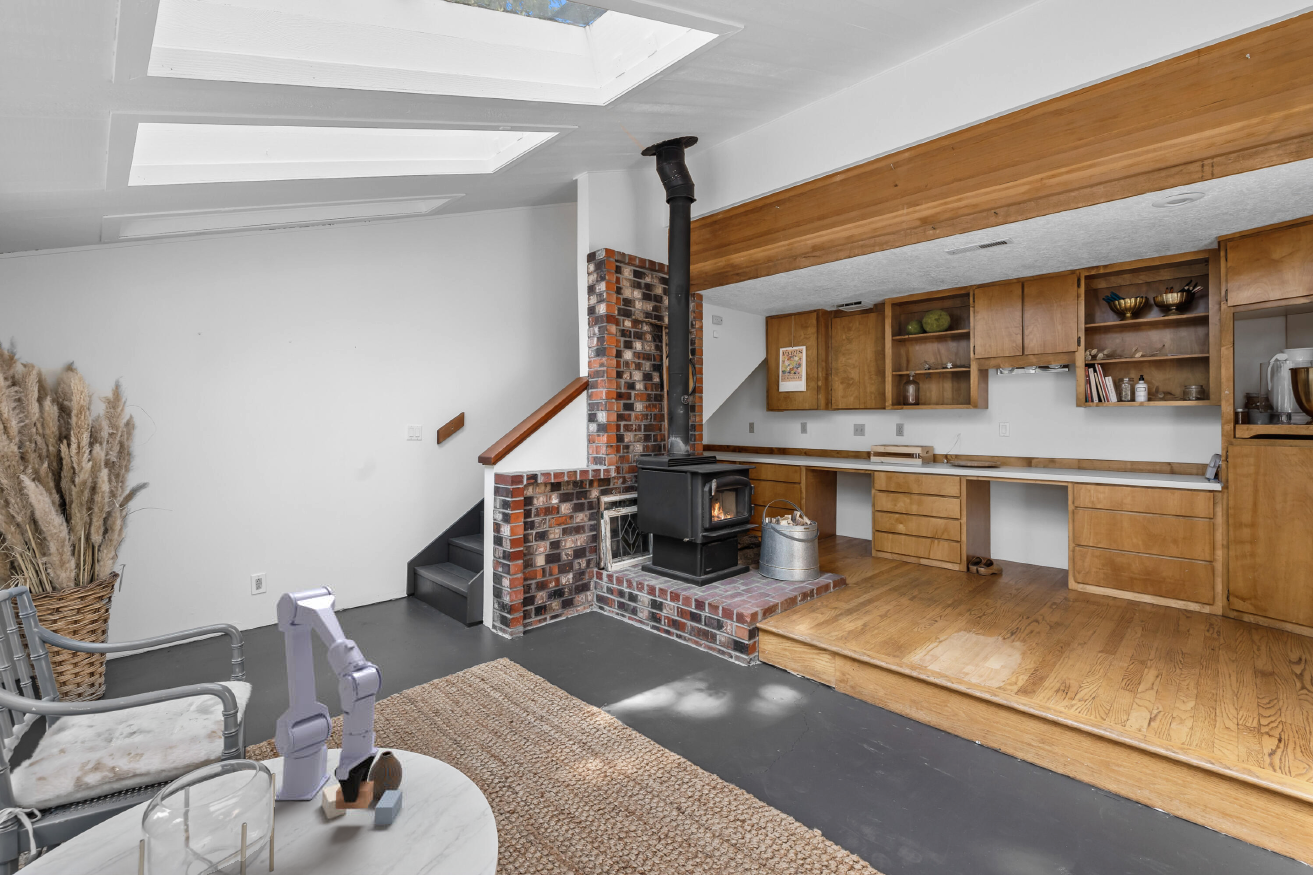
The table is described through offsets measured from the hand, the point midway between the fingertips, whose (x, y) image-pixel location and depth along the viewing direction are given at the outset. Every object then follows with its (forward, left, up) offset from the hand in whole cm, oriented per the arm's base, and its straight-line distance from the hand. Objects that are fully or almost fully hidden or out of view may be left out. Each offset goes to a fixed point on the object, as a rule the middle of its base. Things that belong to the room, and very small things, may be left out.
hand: (354, 795), depth 120 cm
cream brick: (-5, -6, -6) cm, 10 cm away
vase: (-10, +3, -6) cm, 12 cm away
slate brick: (-2, +6, -6) cm, 9 cm away
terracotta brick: (0, 0, -2) cm, 2 cm away
